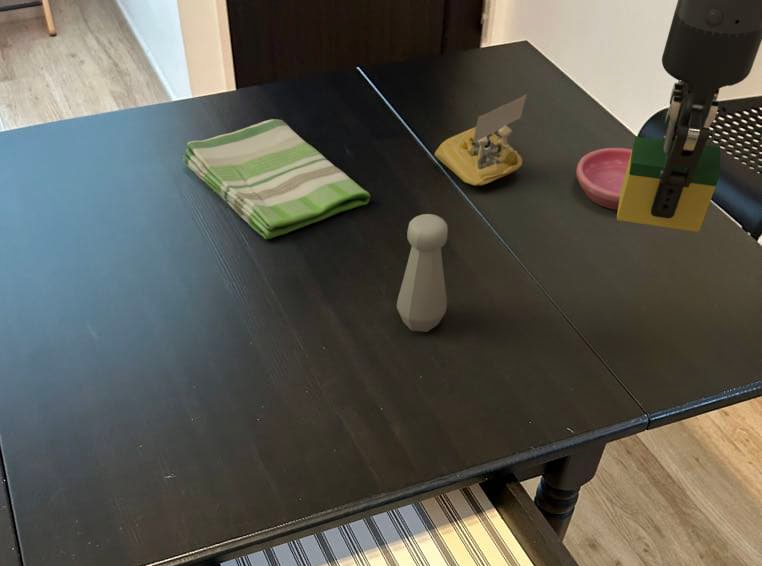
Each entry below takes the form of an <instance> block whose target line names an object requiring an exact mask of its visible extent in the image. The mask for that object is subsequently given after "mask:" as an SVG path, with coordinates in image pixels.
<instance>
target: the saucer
mask: <svg viewBox="0 0 762 566" xmlns="http://www.w3.org/2000/svg"><path fill="white" fill-rule="evenodd" d="M631 152H632V148H631V149H630V148H625V147H606V148H600V149H596V150H592V151H590V152H588V153H587V154H585V155H584V156H582V157H581V158H580V160H579V161H578V162H577V167H576V171H575V172H576V179H577V181H578V183H579V185H580V187H581V188H582V190H583V191H584V194H585V195H586V196H587V198H589V199H590V200H591V201H592V202H594V203H595V204H597V205H599V206H601V207H603V208H607V209H610V210H615V211H618V206H619V199H620V192H621V189H622V185H623V181H624V178H625V174H626V170H627V166H628V163H629V159H630V155H631Z"/></svg>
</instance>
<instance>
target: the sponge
mask: <svg viewBox="0 0 762 566" xmlns="http://www.w3.org/2000/svg"><path fill="white" fill-rule="evenodd" d="M672 142H673V143H674V141H672ZM663 143H664V140H663V139H657V138H651V137H642V136H635V137H634V140H633V143H632V144H633V145H632V148H631V149H632V152H631V155H630V159H629V163H628V166H627V170H626V174H625V178H624V181H623V185H622V189H621V192H620V199H619V206H618V210H617V213H616V221H619V222H624V223H625V222H626V223H632V224H633V223H634V224H640V225H647V226H655V227H660V228H661V227H662V228H669V229H674V230H675V229H676V230H683V231H690V232H696V233H699V232H700V230H701V227H702V225H703V222H704V220H705V218H706V217H705V216H706V214H707V211H708V208H709V206H710V203H711V200H712V197H713V196H714V193H715V190H716V187H717V184H718V182H719V178H720V176H721V147H720V146H713V145H706V144H705V146H704V149H703V151H702V154H701V157H700V159H699V162H698V164H697V167H696V170H695V172H694V175H693V177H692V178H693V179H692V183H690V185H689V187H683V190H682V193H681V196H680V199H679V202H678V205H677V208H676V211H675V214H674V216H673V217H672V218H662V217H655V216H652V214H651V208H652V204H653V201H654V198H655V195H656V191H657V188H658V185H659V182H660V176H659V175H660V171H661V170H662V168H663V165H664V161H665V157H666V153H665V152H664V150H663ZM674 168H681V169H685V167H684V166H674Z"/></svg>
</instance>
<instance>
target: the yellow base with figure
mask: <svg viewBox="0 0 762 566" xmlns="http://www.w3.org/2000/svg"><path fill="white" fill-rule="evenodd" d="M527 95H528V93H524V95H522V96H520V97H518V98H516V99H513V100H511V101H509V102H507V103H506V104H502V105H500V106H498V107H497V108H494V109H492V110H490V111H489V112H486V113H484V114H481V115H480V116H478V117H477V121H476V125H475V126H474V127H472V128H470V129H467V130H465V131H463V132H461V133H458V134H455V135H453V136H451V137H449V138H446V139H445V140H444V141H443V142H441V144H440V145H439V146H438V148H437V149H436V150H435V152H434V157H435V158H437V160H438V161H440V162H441V163H442V164H443V165H444V166H446V167H447V168H448V169H449V170H450V171H451V172H453V174H455V175H456V176H457V177H458V178H459V179H460V180H461V181H463V182H464V183H466V184H468V185H471V186H474V187H478V186H484V185H486V184H490V183H492V182H494V181H496V180H498V179H500V178H503V177H504V178H505V177H506V176H508V175H510V174H512V173H514V172H516V171H518V170H519V169H520V168H522V166H523V158H522V156H521V155H520V154H519V153H518V151H517V150H515V149H514V148H513V147H512V146H511V145H510V144H509V143H508V137H509V136H510V135H512V134H513V130H512V129H511V128H510V127H509V126H508V125H509V124H511V123H514V122H515V121H517V120H520V119H521V118H522V115H523V110H524V107H525V102H526V100H527ZM549 116H552V113H549ZM496 132H498V135H499V136H498V135H496V134H495V133H496Z"/></svg>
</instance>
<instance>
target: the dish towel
mask: <svg viewBox="0 0 762 566" xmlns="http://www.w3.org/2000/svg"><path fill="white" fill-rule="evenodd" d="M182 158H183V163H185V164H186V166H187V167H188V168H189V169H190V170H191V171H192V172H193V173H194V174H195V175H196V176H197V177H198V178H199V179H200V180H201V181H203V182H204V183H205V184H206V185H207V186H208V187H209V188H210V189H211V190H212V191H213V192H214V193H216V195H217V196H218V197H219V198H220V199H222V200H223V201H224V202H225V203H227V204H228V205H229V206H230V208H231V209H232V210H234V212H235V213H236V214H237V215H238V216H239V217H240V218H241V219H242V220H243V221H245V222H246V223H247V224H248V226H250V227H251V228H252V229H253V230H254V231H255V232H256V233H258V234H259V235H260V236H261V237H262V238H263V239H264V240H271V239H275V237H279V236H283V235H286V234H289V233H291V232H294V231H296V230H299V229H301V228H304V227H306V226H310V225H312V224H314V223H318V222H320V221H324V220H325V219H328V218H330V217H332V216H335V215H337V214H341V213H342V212H347V211H350V210H353V209H355V208H358V207H361V206H366V205H368V204H369V202H370V201H371V194H370V192H369V191H367V190H366V189H364V188H363V187H362V186H360V185H359V184H358V183H356V181H354V180H353V179H352V178H350V177H349V176H348V175H347V173H345V172H344V171H343V170H341V169H340V168H339V167H337V166H335V165H334V163H332V162H331V161H330V160H328V159H327V158H326V157H325V156H324V155H323V154H322V153H321V152H320V151H318V150H317V149H316V148H315V147H313V146H312V145H311V144H309V143H308V142H306V141H305V140H304V139H303V138H302V137H300V135H298V134H297V133H296V132H295V131H294V130H293V129H292V128H291V127H290V125H288V123H286V122H285V121H284V120H282V119H277V118H276V119H274V118H271V119H267V120H264V121H261V122H258V123H255V124H251V125H250V126H247V127H244V128H241V129H238V130H235V131H232V132H229V133H224V134H220V135H216V136H214V137H213V136H212V137H209V138H206V139H203V140H192V141H187V149H186V151H185V154H183V155H182Z"/></svg>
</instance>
